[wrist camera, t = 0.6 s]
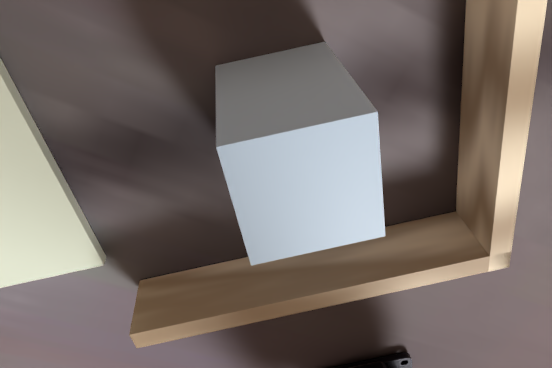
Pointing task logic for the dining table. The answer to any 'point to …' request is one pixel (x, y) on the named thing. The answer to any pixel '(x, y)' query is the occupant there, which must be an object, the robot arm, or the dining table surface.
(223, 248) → the dining table surface
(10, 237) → the pad
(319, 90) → the block
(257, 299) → the u-shaped wooden frame
